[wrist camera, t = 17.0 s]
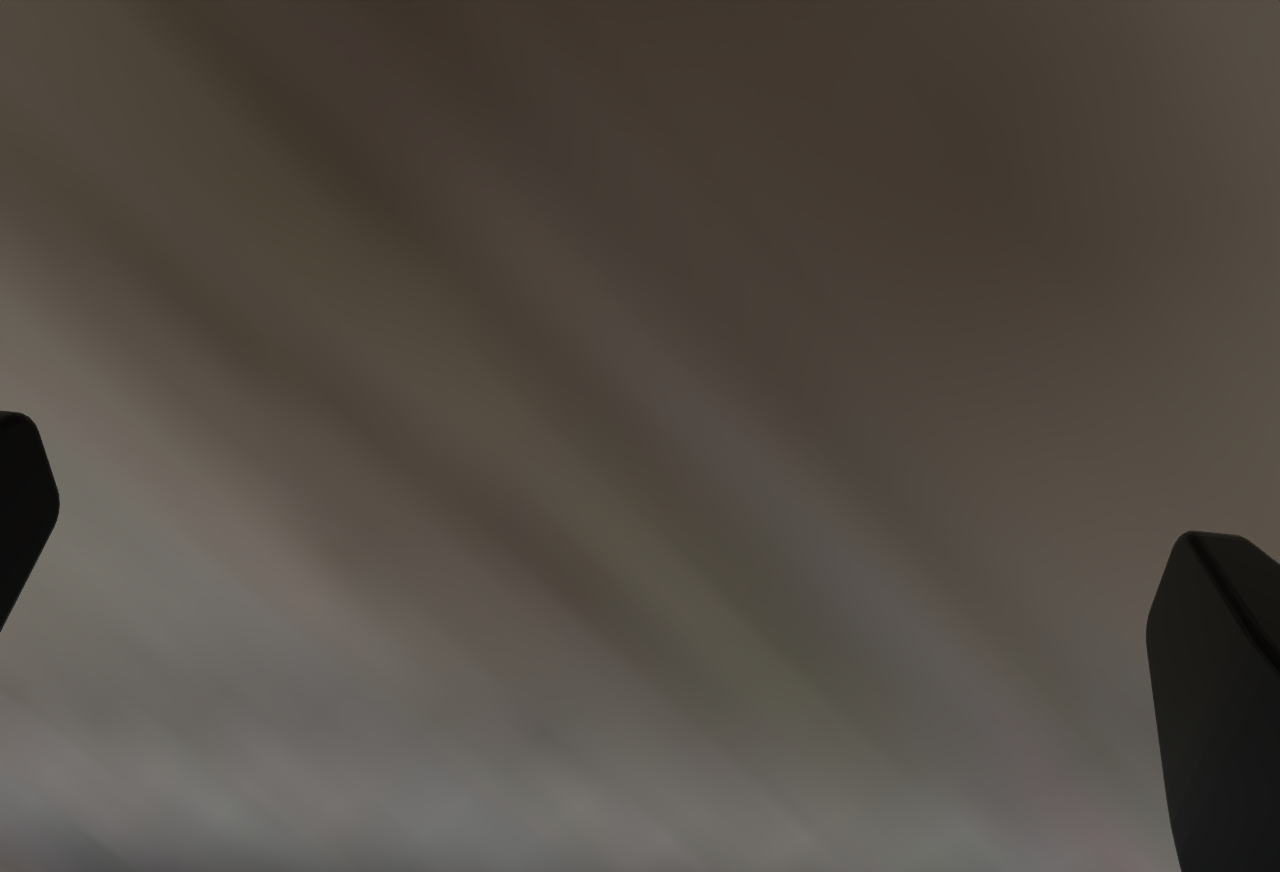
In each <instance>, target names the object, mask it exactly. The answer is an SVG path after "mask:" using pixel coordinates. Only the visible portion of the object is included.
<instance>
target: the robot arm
mask: <svg viewBox="0 0 1280 872" xmlns="http://www.w3.org/2000/svg"><path fill="white" fill-rule="evenodd" d="M59 506H60V502H59V493H58V489H57V486H56V483H55V480H54V477H53V474H52V471H51V468H50V464H49V461H48V458H47V455H46V452H45V449H44V446H43V443H42V440H41V437H40V434H39V431H38V429H37V426H36V425H35V423H34V422H33V421H32V420H31V419H30V418H29V417H28V416H26V415H24V414H22V413H18V412H9V411H0V632H1V630H2V628H3V626H4V624H5V622H6V620H7V618H8V616H9V614H10V612H11V610H12V609H13V607H14V605H15V603H16V601H17V599H18V597H19V595H20V593H21V591H22V589H23V587H24V585H25V583H26V581H27V579H28V577H29V575H30V573H31V571H32V569H33V567H34V566H35V564H36V562H37V560H38V558H39V556H40V554H41V552H42V550H43V548H44V546H45V544H46V542H47V540H48V538H49V536H50V534H51V532H52V530H53V528H54V526H55V524H56V521H57V518H58V514H59ZM1146 646H1147V654H1148V662H1149V669H1150V677H1151V685H1152V692H1153V700H1154V708H1155V715H1156V723H1157V731H1158V738H1159V746H1160V754H1161V761H1162V769H1163V777H1164V784H1165V792H1166V799H1167V805H1168V812H1169V818H1170V824H1171V829H1172V834H1173V838H1174V843H1175V847H1176V851H1177V856H1178V860H1179V864H1180V868H1181V872H1280V564H1279V563H1277V562H1276V561H1275V560H1274V559H1272V558H1271V557H1270V556H1268V555H1267V554H1266V553H1265V552H1263V551H1262V550H1261V549H1259V548H1258V547H1257V546H1255V545H1254V544H1253V543H1252V542H1250V541H1249V540H1247V539H1246V538H1244V537H1241V536H1238V535H1231V534H1221V533H1211V532H1201V531H1188V532H1186V533H1184V534H1182V535H1181V536H1180V537H1179V538H1178V540H1177V541H1176V542H1175V544H1174V546H1173V548H1172V551H1171V554H1170V557H1169V559H1168V562H1167V565H1166V568H1165V570H1164V573H1163V576H1162V578H1161V581H1160V584H1159V587H1158V589H1157V592H1156V595H1155V598H1154V600H1153V603H1152V606H1151V609H1150V612H1149V615H1148V620H1147V628H1146Z"/></svg>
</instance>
